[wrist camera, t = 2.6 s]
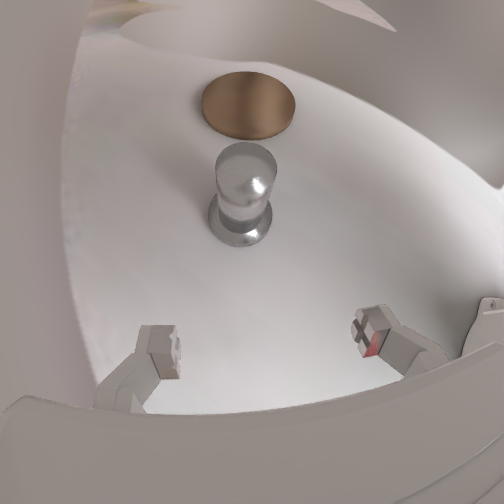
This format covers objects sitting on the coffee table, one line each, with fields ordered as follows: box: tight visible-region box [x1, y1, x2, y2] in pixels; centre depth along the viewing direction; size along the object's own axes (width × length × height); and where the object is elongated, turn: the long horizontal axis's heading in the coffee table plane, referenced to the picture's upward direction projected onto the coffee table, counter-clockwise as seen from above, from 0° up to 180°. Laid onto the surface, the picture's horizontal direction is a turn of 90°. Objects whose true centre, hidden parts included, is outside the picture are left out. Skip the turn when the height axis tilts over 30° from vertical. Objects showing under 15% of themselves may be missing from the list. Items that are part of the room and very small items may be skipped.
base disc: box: [202, 72, 295, 140], centre depth 32 cm, size 12×12×2 cm
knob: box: [208, 142, 277, 247], centre depth 24 cm, size 6×6×10 cm
